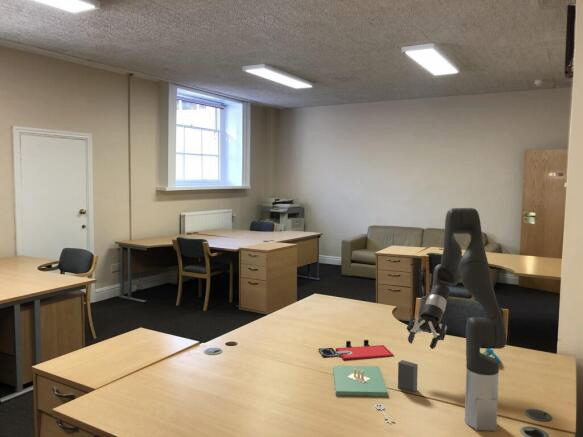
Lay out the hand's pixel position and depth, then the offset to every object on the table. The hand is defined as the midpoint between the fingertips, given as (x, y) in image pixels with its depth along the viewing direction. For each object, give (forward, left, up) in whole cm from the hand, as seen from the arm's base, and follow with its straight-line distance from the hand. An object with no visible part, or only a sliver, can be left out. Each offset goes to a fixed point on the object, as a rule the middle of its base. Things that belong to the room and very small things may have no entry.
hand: (420, 345), depth 169 cm
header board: (-3, +23, -13) cm, 27 cm away
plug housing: (-8, +6, -13) cm, 17 cm away
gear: (+20, -34, -14) cm, 42 cm away
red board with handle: (+26, +22, -14) cm, 37 cm away
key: (-26, +17, -14) cm, 34 cm away
